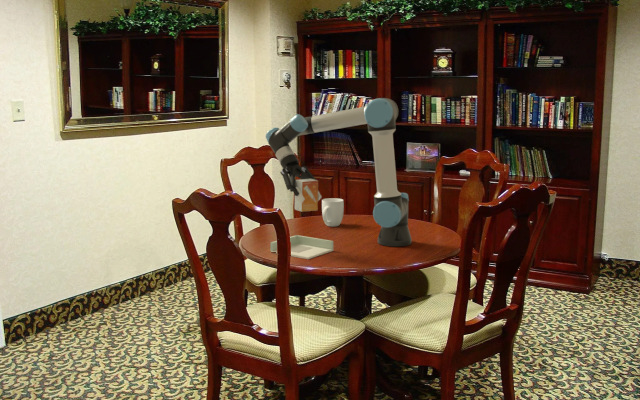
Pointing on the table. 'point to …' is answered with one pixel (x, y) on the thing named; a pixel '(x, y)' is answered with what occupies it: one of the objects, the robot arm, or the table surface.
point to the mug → (332, 211)
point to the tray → (306, 246)
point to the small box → (307, 195)
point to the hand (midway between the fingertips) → (311, 200)
